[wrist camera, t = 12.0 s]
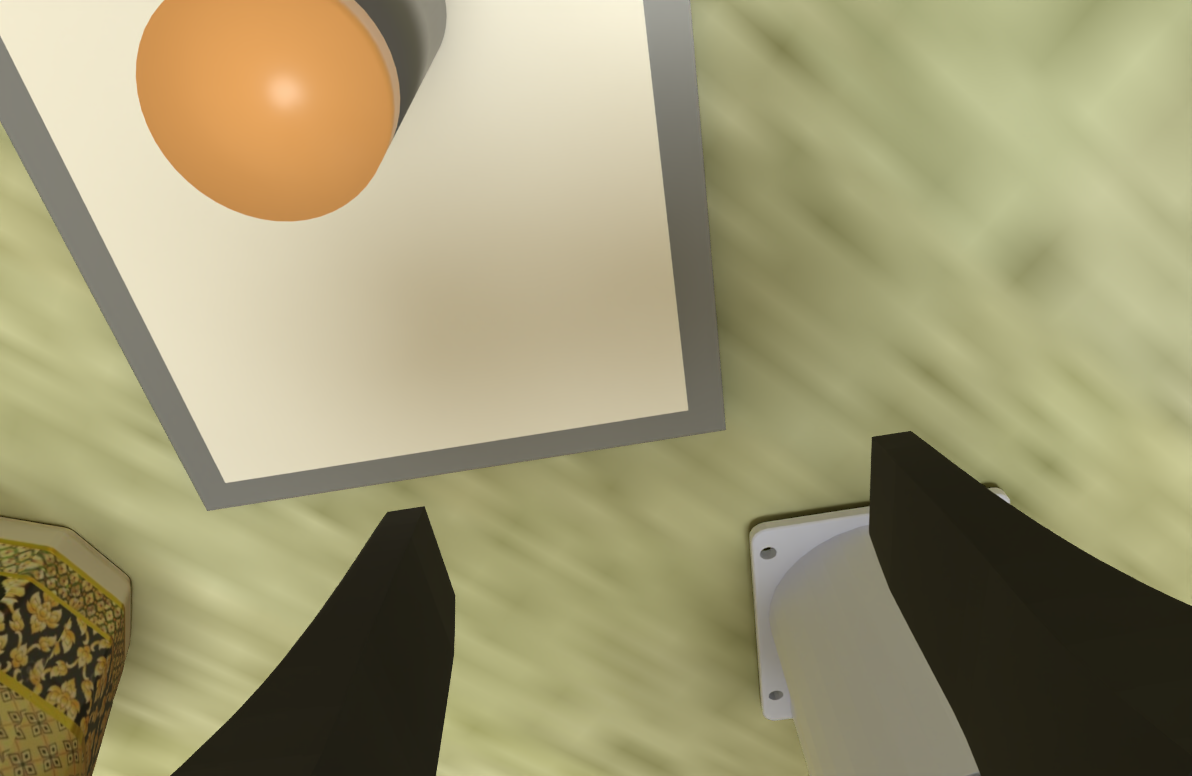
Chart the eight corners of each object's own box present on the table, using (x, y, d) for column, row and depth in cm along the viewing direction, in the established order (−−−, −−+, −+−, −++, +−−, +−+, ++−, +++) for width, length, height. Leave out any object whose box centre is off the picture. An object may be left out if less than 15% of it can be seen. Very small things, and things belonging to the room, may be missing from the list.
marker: (461, 72, 18) (417, 201, 11) (324, 96, 18) (196, 238, 11) (425, -89, 16) (346, -52, 9) (274, -61, 16) (90, -5, 10)
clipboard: (721, 417, 24) (732, 451, 23) (213, 497, 25) (195, 534, 23) (635, -604, 13) (645, -655, 12) (-265, -425, 14) (-352, -456, 12)
